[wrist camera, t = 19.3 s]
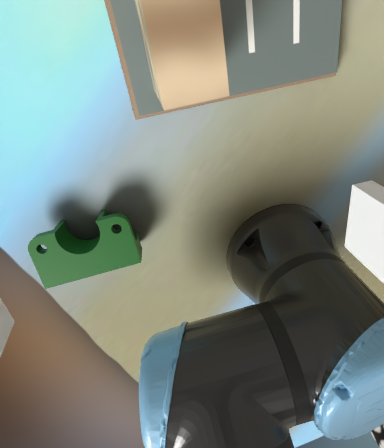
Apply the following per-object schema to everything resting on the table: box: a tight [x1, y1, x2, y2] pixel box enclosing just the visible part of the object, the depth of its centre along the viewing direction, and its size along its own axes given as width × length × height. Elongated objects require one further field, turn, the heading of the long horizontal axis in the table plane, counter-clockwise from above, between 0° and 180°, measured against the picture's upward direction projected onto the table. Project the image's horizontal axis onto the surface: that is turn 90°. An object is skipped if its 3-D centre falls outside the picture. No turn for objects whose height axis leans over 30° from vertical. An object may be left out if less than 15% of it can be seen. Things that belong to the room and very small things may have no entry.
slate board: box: [104, 0, 342, 120], centre depth 30 cm, size 15×22×2 cm
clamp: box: [28, 210, 142, 289], centre depth 38 cm, size 12×6×9 cm, turn 95°
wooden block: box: [134, 0, 230, 111], centre depth 25 cm, size 10×5×9 cm, turn 10°
